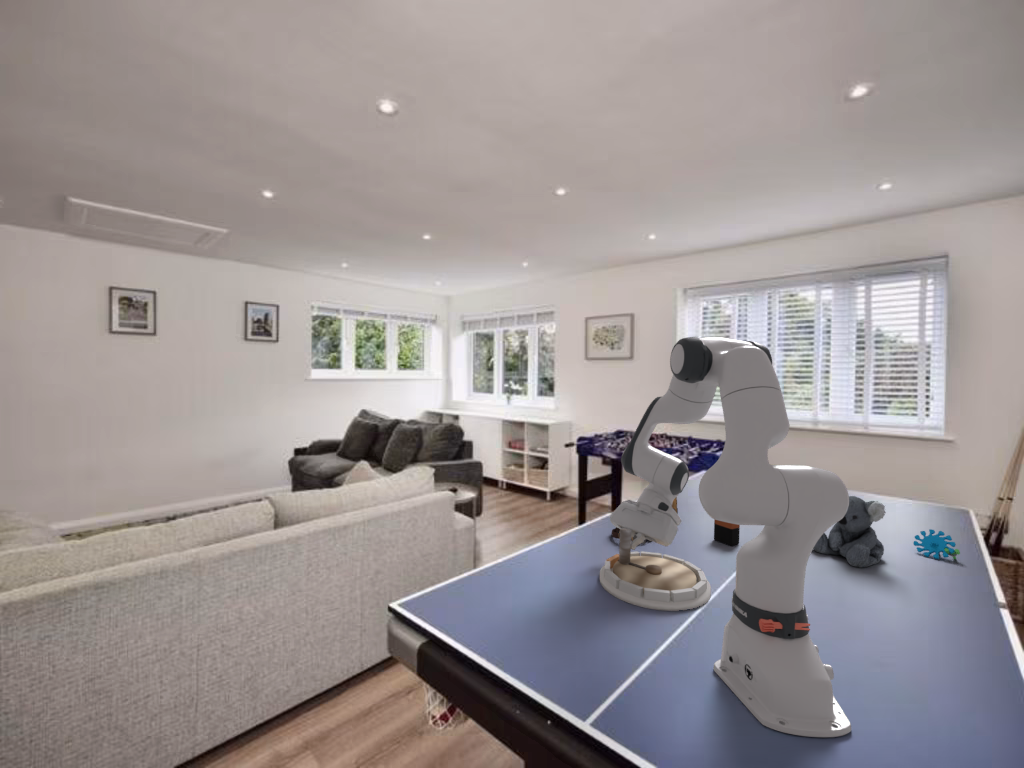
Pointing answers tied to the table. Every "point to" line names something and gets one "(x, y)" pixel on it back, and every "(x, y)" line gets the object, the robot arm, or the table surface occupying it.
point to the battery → (726, 532)
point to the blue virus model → (936, 545)
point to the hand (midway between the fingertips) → (628, 547)
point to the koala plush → (855, 534)
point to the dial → (650, 569)
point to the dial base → (655, 603)
